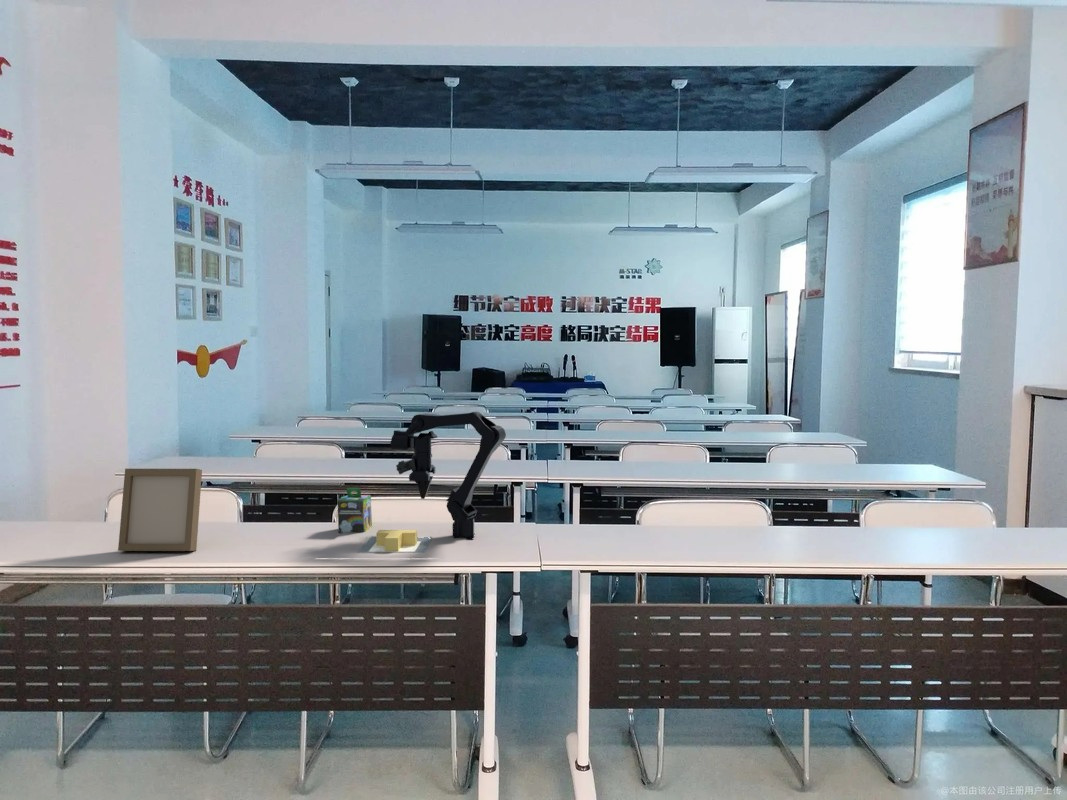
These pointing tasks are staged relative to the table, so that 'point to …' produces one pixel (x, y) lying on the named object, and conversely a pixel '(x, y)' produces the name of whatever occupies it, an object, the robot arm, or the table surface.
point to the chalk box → (354, 512)
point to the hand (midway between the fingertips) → (422, 498)
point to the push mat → (418, 548)
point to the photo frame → (160, 510)
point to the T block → (396, 539)
